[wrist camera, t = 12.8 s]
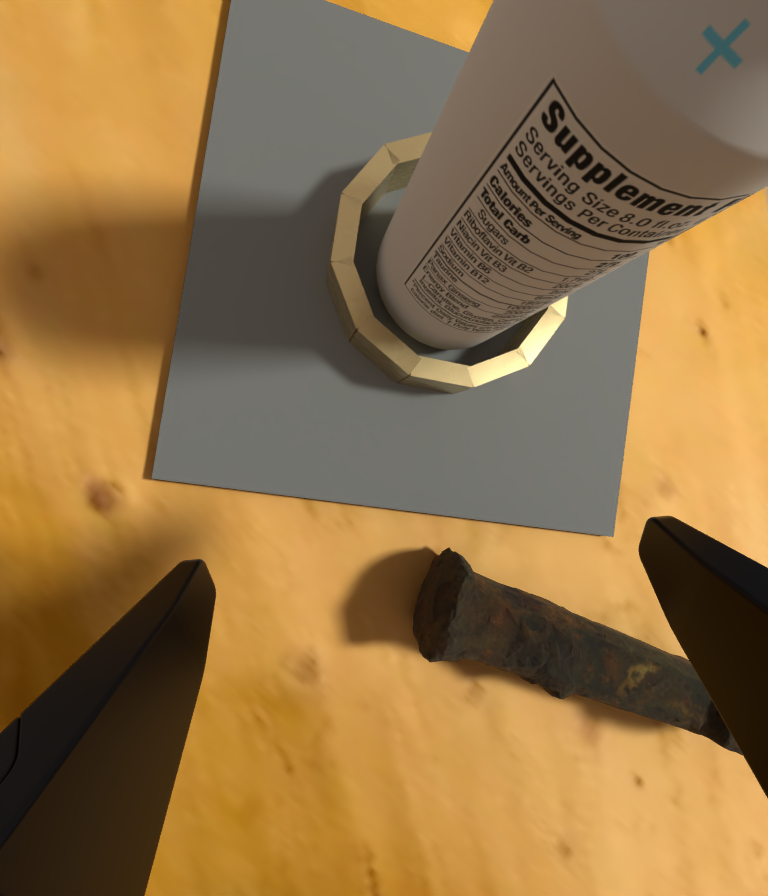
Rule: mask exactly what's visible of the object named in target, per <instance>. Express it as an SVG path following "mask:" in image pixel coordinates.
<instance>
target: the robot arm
mask: <svg viewBox="0 0 768 896" xmlns="http://www.w3.org/2000/svg"><path fill="white" fill-rule="evenodd" d="M639 556H640V559H641V561H642V564H643V566H644V568H645V571H646V573H647V575H648V577H649V580H650V582H651V584H652V587H653V589H654V591H655V593H656V596H657V598H658V600H659V603H660V605H661V607H662V609H663V612H664V614H665V616H666V618H667V620H668V622H669V625H670V627H671V629H672V630H673V632H674V634H675V636H676V638H677V640H678V641H679V643H680V645H681V647H682V649H683V650H684V652H685V654H686V656H687V657H688V659H689V661H690V663H691V664H692V666H693V668H694V670H695V671H696V673H697V675H698V677H699V678H700V680H701V682H702V684H703V685H704V687H705V689H706V691H707V692H708V694H709V696H710V698H711V699H712V701H713V703H714V705H715V707H716V708H717V710H718V712H719V714H720V715H721V717H722V719H723V721H724V722H725V724H726V726H727V728H728V729H729V731H730V733H731V735H732V736H733V738H734V740H735V742H736V743H737V745H738V747H739V749H740V750H741V752H742V754H743V756H744V758H745V759H746V761H747V763H748V765H749V766H750V768H751V770H752V772H753V773H754V775H755V777H756V779H757V780H758V782H759V784H760V786H761V787H762V789H763V791H764V793H765V794H766V796H767V798H768V568H767V567H765V566H763V565H761V564H760V563H758V562H756V561H754V560H752V559H750V558H748V557H747V556H745V555H743V554H741V553H739V552H737V551H736V550H734V549H732V548H730V547H728V546H726V545H724V544H723V543H721V542H719V541H717V540H715V539H713V538H711V537H710V536H708V535H706V534H704V533H702V532H700V531H699V530H697V529H695V528H693V527H691V526H689V525H687V524H686V523H684V522H682V521H680V520H678V519H676V518H674V517H672V516H660V517H651V518H649V519H648V520H647V522H646V524H645V528H644V531H643V534H642V537H641V540H640V544H639ZM215 599H216V589H215V585H214V582H213V580H212V578H211V575H210V573H209V570H208V568H207V566H206V564H205V562H204V561H203V560H201V559H196V560H185V561H182V562H180V563H179V564H178V565H177V566H176V567H175V568H173V569H172V570H171V571H170V572H169V573H168V574H167V575H166V576H165V577H164V578H163V579H162V580H161V581H160V582H159V583H158V584H157V585H156V586H155V587H153V588H152V589H151V590H150V591H149V592H148V593H147V594H146V595H145V596H144V597H143V598H142V599H141V600H140V601H139V602H138V603H137V604H136V605H135V606H133V607H132V608H131V609H130V610H129V611H128V612H127V613H126V614H125V615H124V616H123V617H122V618H121V619H120V620H119V621H118V622H117V623H116V624H115V625H113V626H112V627H111V628H110V629H109V630H108V631H107V632H106V633H105V634H104V635H103V636H102V637H101V638H100V639H99V640H98V641H97V642H96V643H95V644H93V645H92V646H91V647H90V648H89V649H88V650H87V651H86V652H85V653H84V654H83V655H82V656H81V657H80V658H79V659H78V660H77V661H76V662H75V663H73V664H72V665H71V666H70V667H69V668H68V669H67V670H66V671H65V672H64V673H63V674H62V675H61V676H60V677H59V678H58V679H57V680H56V681H55V682H53V683H52V684H51V685H50V686H49V687H48V688H47V689H46V690H45V691H44V692H43V693H42V694H41V695H40V696H39V697H38V698H37V699H36V700H35V701H33V702H32V703H31V704H30V705H29V706H28V707H27V708H26V709H25V710H24V711H23V712H22V713H21V716H20V717H17V718H15V719H14V720H13V721H12V722H11V723H10V724H9V725H8V726H7V727H6V728H5V729H4V730H3V731H2V732H1V733H0V896H144V895H145V891H146V888H147V884H148V880H149V876H150V873H151V869H152V865H153V861H154V858H155V854H156V850H157V847H158V843H159V839H160V835H161V832H162V828H163V824H164V820H165V817H166V813H167V809H168V805H169V802H170V798H171V794H172V790H173V787H174V783H175V779H176V775H177V772H178V768H179V764H180V760H181V757H182V753H183V749H184V746H185V742H186V738H187V734H188V731H189V727H190V723H191V719H192V716H193V712H194V708H195V704H196V701H197V697H198V693H199V689H200V686H201V682H202V678H203V673H204V669H205V663H206V658H207V651H208V645H209V638H210V632H211V625H212V619H213V612H214V606H215Z"/></svg>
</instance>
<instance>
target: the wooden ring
mask: <svg viewBox="0 0 768 896" xmlns="http://www.w3.org/2000/svg"><path fill="white" fill-rule="evenodd" d="M431 134H432V132H430V133H426V134H422V135H418V136H414V137H410V138H406V139H402V140H398V141H394V142H390V143H386V144H385V145H383V146H382V147H381V148H380V150H379V151H378V152H377V153H376V154H375V155H374V156H373V157H372V159H371V160H370V161H369V162H368V163H367V164H366V165H365V167H364V168H363V169H362V170H361V171H360V172H359V173H358V174H357V176H356V177H355V178H354V179H353V180H352V181H351V182H350V183H349V185H348V186H347V187H346V188H345V189H344V190H343V191H342V194H341V197H340V201H339V205H338V210H337V214H336V219H335V224H334V231H333V237H332V244H331V250H330V257H329V263H328V270H327V276H326V284H327V287H328V289H329V292H330V295H331V297H332V300H333V303H334V305H335V308H336V310H337V313H338V316H339V318H340V321H341V323H342V326H343V329H344V331H345V334H346V336H347V339H348V341H350V344H351V345H352V346H354V347H355V348H356V349H357V350H358V351H359V352H361V353H362V354H363V355H364V356H365V357H367V358H368V359H369V360H370V361H371V362H372V363H374V364H375V365H376V366H377V367H378V368H379V369H381V370H382V371H383V372H384V373H385V374H386V375H388V376H389V377H390V378H391V379H392V380H393V381H395V382H398V384H403V385H409V386H414V387H419V388H425V389H430V390H435V391H441V392H446V393H451V394H456V393H459V392H462V391H465V390H468V389H471V388H474V387H476V386H479V385H482V384H484V383H487V382H489V381H492V380H494V379H497V378H500V377H502V376H505V375H507V374H510V373H512V372H515V371H518V370H520V369H523V368H525V367H528V366H529V365H530V364H531V363H532V362H533V360H534V359H535V358H536V356H537V355H538V354H539V352H540V351H541V350H542V348H543V347H544V346H545V344H546V343H547V342H548V340H549V339H550V338H551V336H552V335H553V334H554V332H555V331H556V330H557V328H558V327H559V326H560V324H561V323H562V322H563V320H564V319H565V318H564V317H565V316H566V308H567V300H568V296H566V297H564V298H563V299H561V300H559V301H557V302H555V303H554V304H552V305H550V306H548V307H546V308H544V309H543V310H541V311H539V312H537V313H535V314H533V315H532V316H530V317H528V318H526V319H524V320H523V323H522V324H521V325H520V327H519V328H518V329H517V330H516V332H515V333H514V334H513V336H512V337H511V338H510V340H509V341H508V342H507V344H506V345H505V346H504V348H503V349H502V350H501V351H500V353H499V354H498V355H497V357H494V358H492V359H489V360H486V361H484V362H481V363H478V364H476V365H473V366H467V365H462V364H457V363H452V362H447V361H442V360H438V359H433V358H428V357H423V356H418V355H417V354H416V353H415V352H414V351H412V350H411V349H410V348H409V347H408V346H407V345H406V344H404V343H403V342H402V341H401V340H400V339H399V338H398V337H396V336H395V335H394V334H393V333H392V332H391V331H390V330H388V329H387V328H386V327H385V326H384V325H383V324H382V323H380V322H379V321H378V320H377V319H376V318H375V317H374V315H373V312H372V310H371V307H370V304H369V302H368V299H367V296H366V294H365V291H364V288H363V286H362V283H361V280H360V278H359V275H358V272H357V270H356V267H355V264H354V262H353V260H354V254H355V247H356V240H357V234H358V227H359V223H360V222H361V221H362V220H363V219H364V218H365V216H366V215H367V214H368V213H369V212H370V211H371V210H372V208H373V207H374V206H375V205H376V204H377V203H378V201H379V200H380V199H381V198H382V197H383V196H384V194H385V193H388V192H392V191H396V190H399V189H403V188H406V187H407V185H408V183H409V181H410V179H411V177H412V175H413V172H414V170H415V168H416V166H417V164H418V162H419V160H420V157H421V155H422V153H423V151H424V149H425V147H426V145H427V142H428V140H429V138H430V136H431Z"/></svg>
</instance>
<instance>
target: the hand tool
mask: <svg viewBox="0 0 768 896" xmlns="http://www.w3.org/2000/svg"><path fill="white" fill-rule="evenodd" d="M412 629H413V635H414V637H415V638H416V640H417V642H418V646H419V651H420V653H421V654H422V656H423V657H424V658H425V659H427V660H428V661H429V662H437V661H459V660H461V659H468V660H475V661H478V662H482V663H484V664H486V665H490V666H493V667H496V668H498V669H500V670H504V671H509V672H511V673H514V674H516V675H518V676H520V677H522V679H524V680H526V681H528V682H530V683H531V684H538V685H540V686H541V687H543V688H544V689H545V690H546V691H547V692H548V693H549V694H550V695H551V696H554V697H557V698H559V699H564V698H566V697H567V696H569V695H571V694H578V695H581V696H584V697H587V698H590V699H593V700H596V701H599V702H602V703H605V704H607V705H610V706H613V707H616V708H619V709H622V710H626V711H630V712H634V713H636V714H639V715H642V716H645V717H648V718H651V719H655V720H658V721H661V722H664V723H667V724H670V725H673V726H677V727H680V728H683V729H685V730H688V731H690V732H693V733H695V734H699V735H703V736H705V737H707V738H709V739H711V740H712V741H714V742H715V743H717V744H719V745H720V746H722V747H723V748H726V749H728V750H730V751H734V752H737V753H739V754H741V755H743V754H742V752H741V750H740V749H739V747H738V745H737V743H736V742H735V740H734V738H733V736H732V735H731V733H730V731H729V729H728V728H727V726H726V724H725V722H724V721H723V719H722V717H721V715H720V714H719V712H718V710H717V708H716V707H715V705H714V703H713V701H712V699H711V698H710V696H709V694H708V692H707V691H706V689H705V687H704V685H703V684H702V682H701V680H700V678H699V677H698V675H697V673H696V671H695V670H694V668H693V666H692V664H691V663H690V661H689V660H687V659H685V658H683V657H681V656H677V655H672V654H670V653H667V652H665V651H663V650H661V649H658V648H656V647H654V646H652V645H649V644H647V643H645V642H643V641H640V640H638V639H635V638H633V637H631V636H628V635H626V634H624V633H621V632H619V631H617V630H614V629H612V628H610V627H607V626H605V625H602V624H600V623H597V622H593V621H591V620H589V619H587V618H585V617H582V616H580V615H577V614H574V613H572V612H570V611H568V610H567V609H565V608H564V607H560V606H558V605H556V604H554V603H552V602H551V601H549V600H546V599H544V598H541V597H539V596H536V595H533V594H529V593H527V592H525V591H522V590H519V589H517V588H512V587H509V586H506V585H503V584H500V583H498V582H495V581H493V580H491V579H489V578H486V577H484V576H482V575H480V574H477V573H475V572H473V570H472V568H471V566H470V565H469V564H468V562H467V561H466V560H465V558H464V557H463V556H461V555H460V554H458V553H456V552H453V551H451V549H450V548H447V549H446V550H444V551H442V553H441V554H440V555H439V556H437V557H435V559H434V561H433V562H432V565H431V568H430V571H429V573H428V575H427V577H426V578H425V580H424V582H423V584H422V586H421V589H420V592H419V595H418V598H417V601H416V606H415V612H414V617H413V628H412Z"/></svg>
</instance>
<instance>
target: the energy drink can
mask: <svg viewBox="0 0 768 896" xmlns="http://www.w3.org/2000/svg"><path fill="white" fill-rule="evenodd" d="M767 186H768V0H494V1H493V3H492V5H491V7H490V9H489V11H488V14H487V16H486V18H485V20H484V22H483V24H482V26H481V29H480V31H479V33H478V35H477V37H476V39H475V41H474V44H473V46H472V48H471V50H470V52H469V54H468V56H467V59H466V61H465V63H464V65H463V67H462V69H461V72H460V74H459V76H458V78H457V80H456V82H455V84H454V87H453V89H452V91H451V93H450V95H449V97H448V99H447V102H446V104H445V106H444V108H443V110H442V112H441V114H440V117H439V119H438V121H437V123H436V125H435V127H434V129H433V132H432V134H431V136H430V138H429V140H428V142H427V145H426V147H425V149H424V151H423V153H422V155H421V157H420V160H419V162H418V164H417V166H416V168H415V170H414V172H413V175H412V177H411V179H410V181H409V183H408V185H407V187H406V190H405V192H404V194H403V196H402V198H401V200H400V202H399V205H398V207H397V209H396V211H395V213H394V215H393V217H392V220H391V222H390V224H389V226H388V228H387V230H386V233H385V235H384V237H383V239H382V242H381V245H380V248H379V251H378V256H377V263H376V274H377V284H378V288H379V292H380V296H381V298H382V300H383V303H384V305H385V307H386V309H387V311H388V312H389V314H390V315H391V317H392V318H393V319H394V321H395V322H396V324H398V325H399V326H400V327H401V328H402V329H403V330H404V331H405V332H406V333H407V334H408V335H410V336H411V337H413V338H414V339H416V340H417V341H419V342H421V343H424V344H426V345H429V346H431V347H434V348H440V349H445V350H461V349H465V348H469V347H473V346H475V345H478V344H480V343H482V342H484V341H486V340H488V339H490V338H491V337H493V336H495V335H497V334H499V333H501V332H502V331H504V330H506V329H508V328H510V327H512V326H513V325H515V324H517V323H519V322H521V321H522V320H524V319H526V318H528V317H530V316H532V315H533V314H535V313H537V312H539V311H541V310H543V309H544V308H546V307H548V306H550V305H552V304H554V303H555V302H557V301H559V300H561V299H563V298H564V297H566V296H568V295H570V294H572V293H574V292H575V291H577V290H579V289H581V288H583V287H585V286H586V285H588V284H590V283H592V282H594V281H596V280H597V279H599V278H601V277H603V276H605V275H606V274H608V273H610V272H612V271H614V270H616V269H617V268H619V267H621V266H623V265H625V264H627V263H628V262H630V261H632V260H634V259H636V258H638V257H639V256H641V255H643V254H645V253H647V252H648V251H650V250H652V249H654V248H656V247H658V246H659V245H661V244H663V243H665V242H667V241H669V240H670V239H672V238H674V237H676V236H678V235H680V234H681V233H683V232H685V231H687V230H689V229H690V228H692V227H694V226H696V225H698V224H700V223H701V222H703V221H705V220H707V219H709V218H711V217H712V216H714V215H716V214H718V213H720V212H722V211H723V210H725V209H727V208H729V207H731V206H732V205H734V204H736V203H738V202H740V201H742V200H743V199H745V198H747V197H749V196H751V195H753V194H754V193H756V192H758V191H760V190H762V189H764V188H765V187H767Z"/></svg>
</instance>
